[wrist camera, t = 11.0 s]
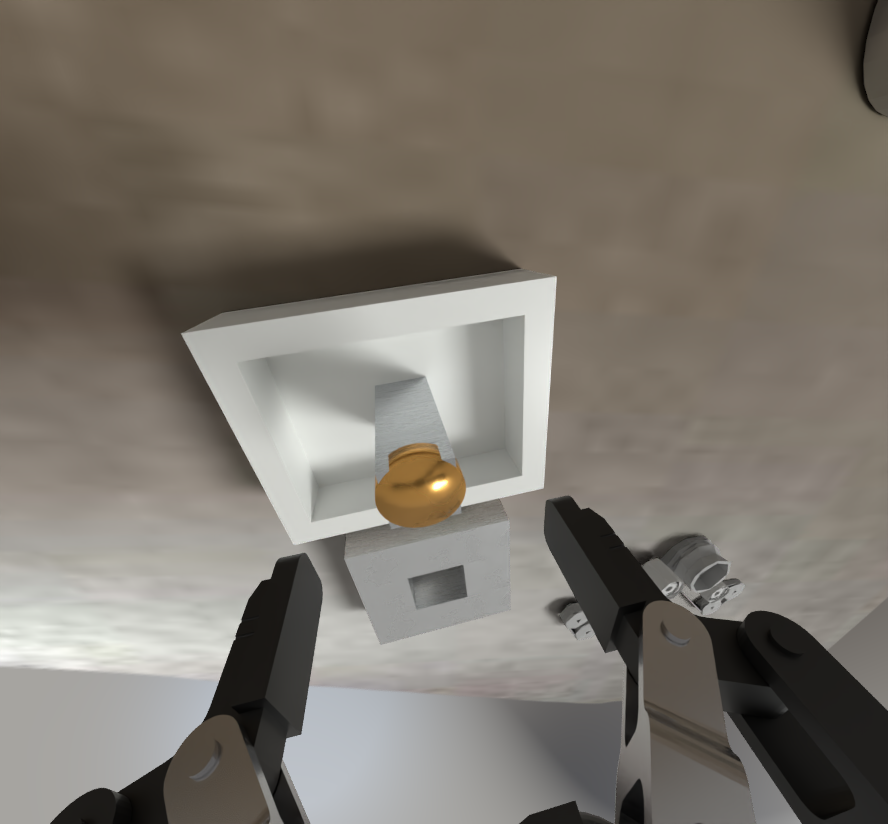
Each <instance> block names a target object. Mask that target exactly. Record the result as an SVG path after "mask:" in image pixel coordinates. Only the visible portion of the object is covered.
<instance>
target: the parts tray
mask: <svg viewBox="0 0 888 824" xmlns="http://www.w3.org/2000/svg"><path fill="white" fill-rule="evenodd" d="M556 280H557V276H553V275H548V274H544V273H539V272H535V271H530V270H526V269H516V270H509V271H502V272H495V273H489V274H482V275H475V276H468V277H461V278H455V279H448V280H441V281H434V282H428V283H421V284H414V285H407V286H400V287H394V288H387V289H380V290H373V291H366V292H360V293H353V294H346V295H339V296H332V297H326V298H319V299H312V300H305V301H298V302H292V303H285V304H278V305H271V306H265V307H258V308H251V309H244V310H237V311H231V312H224V313H221V314H219V315H217V316H215V317H213V318H211V319H209V320H207V321H205V322H203V323H201V324H199V325H197V326H195V327H193V328H191V329H189V330H187V331H185V332H183V333H181V334H182V336H183V338H184V340H185V342H186V344H187V346H188V348H189V349H190V351H191V353H192V355H193V357H194V359H195V361H196V363H197V364H198V366H199V368H200V370H201V372H202V374H203V376H204V378H205V379H206V381H207V383H208V385H209V387H210V389H211V391H212V393H213V394H214V396H215V398H216V400H217V402H218V404H219V406H220V408H221V409H222V411H223V413H224V415H225V417H226V419H227V421H228V423H229V424H230V426H231V428H232V430H233V432H234V434H235V436H236V438H237V440H238V441H239V443H240V445H241V447H242V449H243V451H244V453H245V455H246V456H247V458H248V460H249V462H250V464H251V466H252V468H253V470H254V471H255V473H256V475H257V477H258V479H259V481H260V483H261V485H262V486H263V488H264V490H265V492H266V494H267V496H268V498H269V500H270V501H271V503H272V505H273V507H274V509H275V511H276V513H277V515H278V516H279V518H280V520H281V522H282V524H283V526H284V528H285V530H286V531H287V533H288V535H289V537H290V539H291V541H292V543H293V545H297V544H301V543H306V542H310V541H314V540H319V539H323V538H327V537H332V536H336V535H341V534H345V533H349V532H354V531H358V530H363V529H367V528H371V527H376V526H380V525H384V524H389V521H388V520H386V519H385V518H384V517H383V516H382V515H381V514H380V512H379V511H378V509H377V507H376V503H375V386H376V385H381V384H387V383H392V382H398V381H403V380H409V379H415V378H420V377H426V379H427V382H428V384H429V387H430V390H431V392H432V395H433V398H434V401H435V403H436V406H437V409H438V412H439V414H440V417H441V420H442V423H443V425H444V428H445V431H446V434H447V436H448V439H449V442H450V445H451V447H452V450H453V453H454V456H455V458H456V459H457V461H458V463H459V466H460V469H461V471H462V474H463V477H464V479H465V483H466V493H465V497H464V499H463V502H462V503H461V507H463V506H468V505H472V504H476V503H481V502H485V501H490V500H494V499H498V498H503V497H507V496H512V495H516V494H520V493H525V492H529V491H533V490H538V489H542V488H544V474H545V457H546V441H547V425H548V409H549V393H550V377H551V360H552V344H553V328H554V312H555V296H556Z"/></svg>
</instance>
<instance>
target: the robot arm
mask: <svg viewBox="0 0 888 824" xmlns="http://www.w3.org/2000/svg"><path fill="white" fill-rule="evenodd" d="M863 66H864V86H865V89H866V93H867V96H868V100H869V101H870V103H871V104H872V106H873V107H874V108H875V110H876V111H877V112H879V113H881V114H883V115H885V116H886V117H888V0H878V2H877V5H876V8H875V10H874V14H873V18H872V21H871V25H870V29H869V32H868V36H867V41H866V48H865V56H864V63H863ZM544 535H545V539H546V542H547V545H548V547H549V549H550V551H551V553H552V555H553V556H554V558H555V560H556V562H557V564H558V566H559V568H560V570H561V571H562V573H563V575H564V577H565V579H566V581H567V583H568V584H569V586H570V588H571V590H572V592H573V594H574V596H575V597H576V599H577V601H578V603H579V605H580V607H581V609H582V611H583V612H584V614H585V616H586V618H587V620H588V622H589V624H590V625H591V627H592V629H593V631H594V633H595V635H596V637H597V639H598V640H599V642H600V644H601V646H602V648H603V650H604V652H605V653H607V652H611V651H615V650H618V652H619V654H620V655H621V657H622V659H623V661H624V673H623V703H622V733H621V735H622V736H621V751H620V758H619V763H618V770H617V781H616V800H615V824H756V821H755V816H754V810H753V805H752V799H751V794H750V789H749V784H748V780H747V776H746V773H745V770H744V767H743V765H742V762H741V761H740V759H739V757H738V756H737V755H736V754H734V753H733V752H732V750H731V748H730V745H729V742H728V739H727V733H726V727H725V720H724V714H723V711H725V712H727V713H728V715H729V716H730V718H731V719H732V720H733V722H734V723H735V725H736V726H737V728H738V729H739V731H740V732H741V734H742V735H743V737H744V738H745V740H746V741H747V743H748V744H749V746H750V747H751V749H752V750H753V752H754V753H755V755H756V756H757V758H758V759H759V761H760V762H761V763H762V765H763V767H764V768H765V770H766V771H767V772H768V774H769V775H770V777H771V778H772V780H773V781H774V783H775V784H776V786H777V787H778V789H779V790H780V792H781V793H782V794H783V796H784V798H785V799H786V801H787V802H788V804H789V805H790V807H791V808H792V809H793V811H794V813H795V814H796V815H797V817H798V819H799V820H800V822H801V823H802V824H888V711H887V710H886V709H885V708H884V707H883V706H882V705H881V704H880V703H879V702H878V701H877V700H876V699H875V698H874V697H873V696H872V695H871V694H870V693H869V692H868V691H867V690H866V689H865V688H864V687H863V686H862V685H861V684H860V683H859V682H858V681H857V680H856V679H855V678H854V677H853V676H852V675H851V674H850V673H849V672H848V671H847V670H846V669H845V668H844V667H843V666H842V665H841V664H840V663H839V662H838V661H837V660H836V659H835V658H834V657H833V656H832V655H831V654H830V653H829V652H828V651H827V650H826V649H825V648H824V647H823V646H822V645H821V644H820V643H819V642H818V641H817V640H816V639H815V638H814V637H813V636H812V635H811V634H809V633H808V632H807V631H806V630H805V629H803V628H802V627H801V626H799V625H798V624H796V623H795V622H793V621H791V620H789V619H788V618H786V617H783V616H781V615H779V614H776V613H772V612H768V611H755V612H751V613H750V614H748V615H747V617H746V618H745V620H744V621H743V622H741V621H732V620H722V619H713V618H705V617H700V616H697V615H694V614H692V613H691V612H690V611H688V610H687V609H685V608H684V607H682V606H680V605H678V604H675V603H673V602H671V601H670V600H669V599H668V598H667V597H666V596H665V595H664V594H663V593H662V592H661V591H660V589H659V588H658V587H657V585H656V584H655V583H654V582H653V580H652V579H651V578H650V577H649V575H648V574H647V573H646V571H645V570H644V569H643V568H642V566H641V565H640V564H639V562H638V561H637V560H636V559H635V557H634V556H633V555H632V554H631V552H630V551H629V550H628V548H627V547H625V546H624V543H623V542H622V541H621V540H620V538H619V537H618V536H617V535H615V532H614V531H613V529H612V528H611V527H610V526H609V524H608V523H607V522H606V520H605V519H604V518H603V517H601V516H600V515H598V514H597V513H595V512H594V511H593V510H591V509H590V508H586V509H582V510H581V509H580V508H579V507H578V505H577V504H576V502H575V501H574V500H573V498H572V497H570V496H563V497H558V498H554V499H549V500H547V501H546V506H545V520H544ZM322 596H323V593H322V584H321V580H320V578H319V576H318V574H317V573H316V571H315V569H314V567H313V565H312V563H311V561H310V559H309V557H308V556H307V554H306V553H301V554H296V555H292V556H287V557H283V558H279V559H278V560H277V562H276V564H275V567H274V570H273V574H272V577H271V579H268V580H264V581H261V583H260V584H259V585H258V587H257V588H256V590H255V591H254V593H253V594H252V595H251V597H250V598H249V600H248V602H247V605H246V608H245V611H244V614H243V616H242V619H241V620H242V622H241V623H240V625H239V628H238V630H237V633H236V639H235V640H234V642H233V644H232V647H231V650H230V653H229V655H228V658H227V661H226V664H225V667H224V669H223V672H222V675H221V678H220V681H219V683H218V686H217V689H216V692H215V695H214V697H213V700H212V703H211V706H210V708H209V711H208V713H207V715H206V717H205V719H204V721H203V722H202V724H201V725H199V726H198V727H197V728H196V729H195V730H194V731H193V732H192V733H191V734H190V735H189V736H188V737H187V738H186V739H185V741H184V742H183V743H182V745H181V746H180V748H179V749H178V751H177V752H176V754H175V755H174V756H173V757H172V758H170V759H169V760H167V761H166V762H165V763H163V764H162V765H160V766H159V767H157V768H155V769H154V770H152V771H151V772H149V773H148V774H146V775H144V776H143V777H141V778H140V779H138V780H136V781H135V782H133V783H132V784H130V785H128V786H127V787H125V788H124V789H122V790H121V791H119V792H114V791H112V790H109V789H106V788H98V789H94V790H92V791H90V792H87V793H86V794H84V795H82V796H81V797H79V798H77V799H76V800H75V801H74V802H72V803H71V804H70V805H68V806H67V807H66V808H65V809H64V810H63V811H62V812H61V813H60V814H59V815H58V816H57V817H56V818H55V819H54V820H53V821H52V822H51V823H50V824H310V822H309V819H308V817H307V815H306V813H305V810H304V808H303V806H302V803H301V801H300V799H299V796H298V794H297V791H296V789H295V787H294V784H293V782H292V780H291V777H290V775H289V773H288V771H287V768H286V766H285V764H284V762H283V760H282V758H283V752H284V747H285V742H286V738H289V737H293V736H297V735H301V731H302V726H303V720H304V713H305V706H306V700H307V694H308V688H309V681H310V675H311V669H312V662H313V656H314V650H315V643H316V637H317V630H318V624H319V618H320V611H321V605H322ZM520 824H613V823H611V822H609V821H607V820H605V819H603V818H601V817H599V816H595V815H592V814H589V813H586V812H579V810H578V807H577V805H576V801H572V802H569V803H566V804H563V805H560V806H557V807H554V808H550V809H547V810H544V811H541V812H538V813H535V814H532V815H529V816H528V817H527V818H525V819H524V820H523V821H522V822H521V823H520Z"/></svg>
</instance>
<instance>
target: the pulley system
mask: <svg viewBox="0 0 888 824" xmlns="http://www.w3.org/2000/svg"><path fill="white" fill-rule="evenodd" d="M730 565H731V561H727V560H725V559H724V558H722V557H721V554H720V549H719V548H718V547H716V546H715V545H714V544H712V543H711V541H710V540H708V539H707V538H706V537H705V536H698V537H693V538H688V539H684V540H683V541H681V542H679V543H678V544H676V545H674V546H673V547H672V548H671V549H670V550H669V551H668V552H667V553H666V554H665V555H664V556H663V557H662V558H661V559H658V558H656V559H653V560H651V561H648V562H646V563H645V564H644V565H643V567H642V568H643V569H644V570H645V571H646V573H647V574H648V575H649V577H650V578H651V579H652V580H653V582H654V583H655V584H656V585H657V587H658V588H659V589H660V591H661V592H662V593H663V594H664V595H665V596H666V597H667V598H668V599H672V598H674V597H675V596H676V595H678V594H679V593H680V592H681V593H682V594H683V595H684V596H685V597H686V598H687V599H688V600H689V601H690V602H691V603H692V604H693V605H694V606H695V607H696V608H697V609H698V610H699V611H700V612H701V613H702V615H710V614H712V613H713V612H715V611H717V610H718V609H719V607H720V606H721V605H722V604H723V603H725V602H726V601H728V600H730V599H732V598H734V597H736V596H737V595H739V594H740V593H741V592H742V590H743V589H744V587H745V585H744V584H743V583H742V582H741V581H740V580H738V579H732V580H726V581H723V579H724V578H725V577H726V575H727V574H728V573H729V569H730ZM684 583H686V584H687V586H688V587H689V588H690V590H691V591H693V592H697V593H699V594H700V595H701V596H702V598H701V599H700V600H698V601H697V602H696V603H695V604H694V603H693V602H692V601H691V600H690V599H689V598H688V597H687V596H686V595H685V594H684V593H683V592H682V591H681V590H682V589H683V587H684ZM559 616H560V617H561V619H562V620H563V622H564V624H565V626H566V627H567V628H568V629H569V630H570V632H571V633H572V634H573V635H574V636H575V637H576V639H577V640H584V639H588V638H592V637H593V636H594V635H595V633H594V631H593V629H592V627H591V625H590V624H589V622H588V620H587V618H586V616H585V614H584V612H583V611H582V609H581V607H580V605H579V603H574V604H573V603H570V604H568V605H566V607H565V609H564V610H563V611H562V612H561V614H560V615H559Z"/></svg>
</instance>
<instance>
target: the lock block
mask: <svg viewBox="0 0 888 824" xmlns="http://www.w3.org/2000/svg"><path fill="white" fill-rule="evenodd" d="M461 511H462V513H461V514H457V515H452V516H449V517H448V518H446V519H445V520H443V521H441V522H439V523H436V524H434V525H430V526H426V527H419V528H409V527H400V528H396V529H391V527H390V524H384V525H380V526H376V527H371V528H367V529H363V530H358V531H354V532H349V533H347V535H346V545H345V556H344V560H345V562H346V565H347V567H348V569H349V572H350V574H351V576H352V579H353V581H354V583H355V586H356V588H357V590H358V593H359V595H360V598H361V600H362V602H363V605H364V607H365V609H366V612H367V614H368V616H369V619H370V621H371V623H372V626H373V628H374V630H375V633H376V635H377V637H378V640H379V642H380V644H381V645H382V644H385V643H389V642H393V641H397V640H400V639H404V638H408V637H411V636H415V635H419V634H423V633H426V632H430V631H434V630H437V629H441V628H445V627H449V626H452V625H456V624H460V623H463V622H467V621H471V620H475V619H478V618H482V617H486V616H489V615H493V614H497V613H501V612H504V611H508V610H510V521H509V518H508V516H507V514H506V512H505V510H504V507H503V505H502V503H501V501H500V499H499V498H498V499H494V500H490V501H485V502H481V503H476V504H472V505H468V506H463V507H461Z"/></svg>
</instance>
